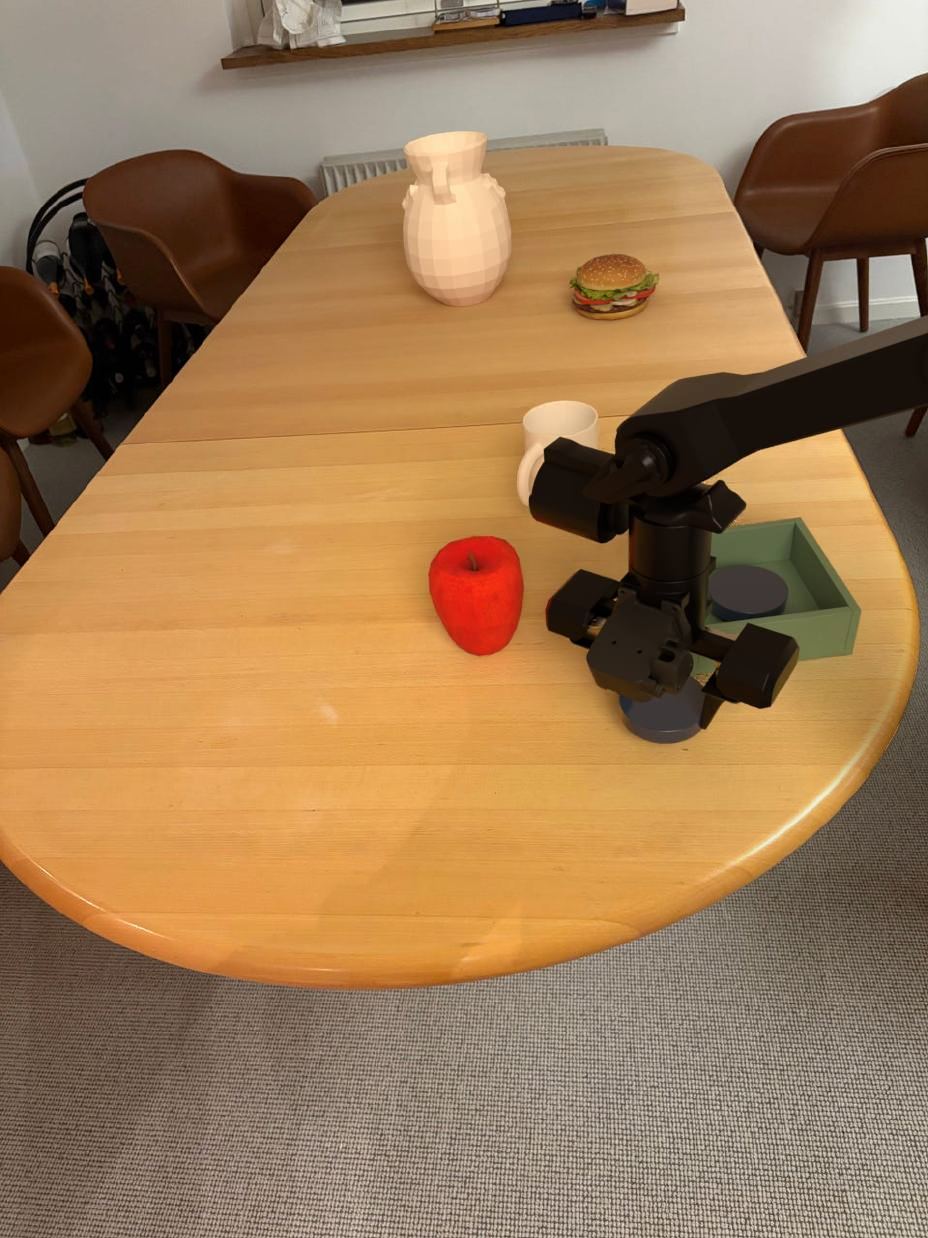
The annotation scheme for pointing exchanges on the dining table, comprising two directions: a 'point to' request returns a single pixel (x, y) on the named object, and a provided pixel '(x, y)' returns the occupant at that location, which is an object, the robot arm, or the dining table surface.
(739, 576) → the dark round disc
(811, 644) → the tub
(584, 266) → the food
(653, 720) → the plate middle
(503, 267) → the pitcher
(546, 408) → the mug
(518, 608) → the apple
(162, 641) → the dining table surface
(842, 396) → the robot arm
